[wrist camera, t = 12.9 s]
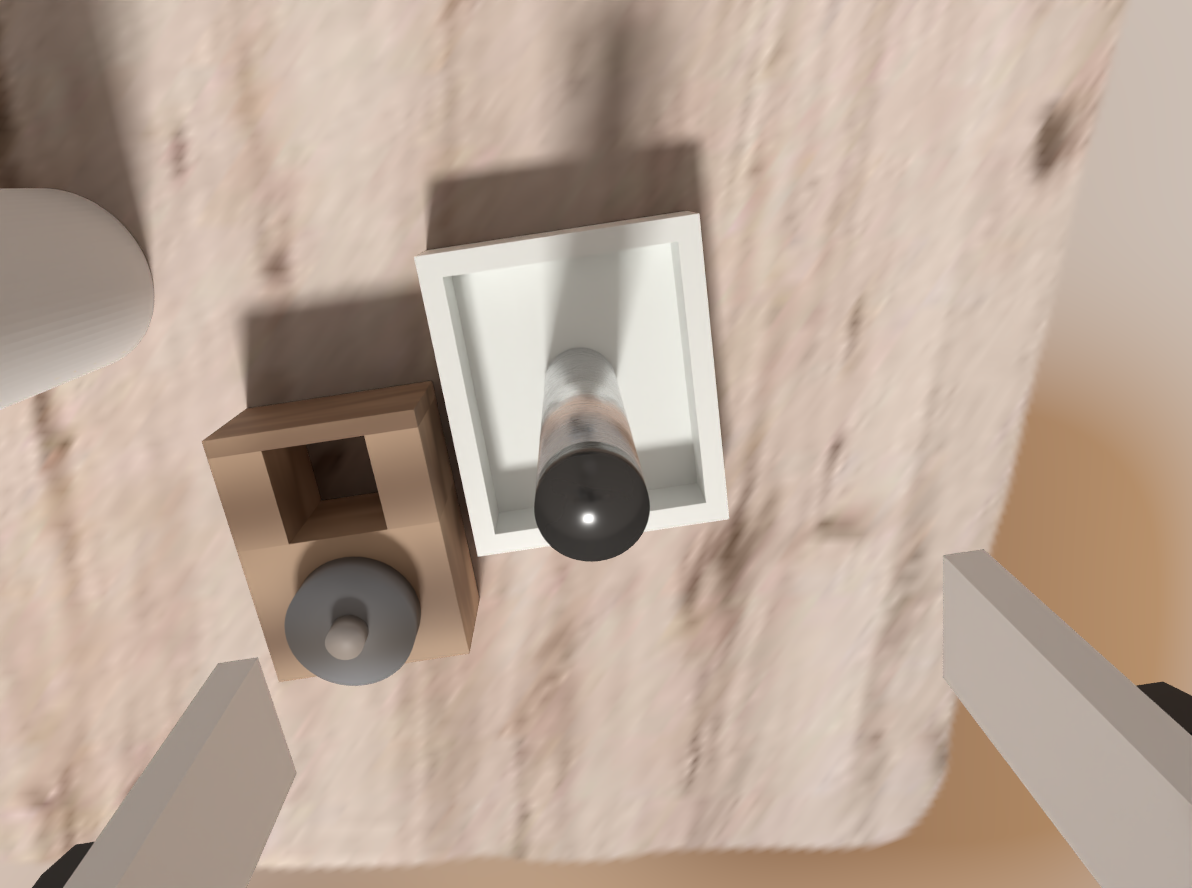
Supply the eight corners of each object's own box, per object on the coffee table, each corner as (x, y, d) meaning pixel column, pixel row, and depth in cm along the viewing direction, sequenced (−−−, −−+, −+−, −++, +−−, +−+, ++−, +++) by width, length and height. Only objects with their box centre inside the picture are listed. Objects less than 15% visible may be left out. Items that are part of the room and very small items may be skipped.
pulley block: (246, 408, 38) (172, 462, 31) (432, 380, 38) (402, 427, 31) (311, 624, 42) (259, 717, 35) (479, 599, 42) (462, 687, 34)
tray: (426, 250, 36) (414, 256, 33) (687, 210, 36) (699, 213, 33) (484, 528, 40) (477, 556, 37) (716, 493, 40) (729, 519, 37)
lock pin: (539, 353, 37) (524, 463, 23) (610, 342, 37) (642, 446, 23) (550, 421, 38) (544, 568, 24) (620, 411, 38) (656, 552, 24)
